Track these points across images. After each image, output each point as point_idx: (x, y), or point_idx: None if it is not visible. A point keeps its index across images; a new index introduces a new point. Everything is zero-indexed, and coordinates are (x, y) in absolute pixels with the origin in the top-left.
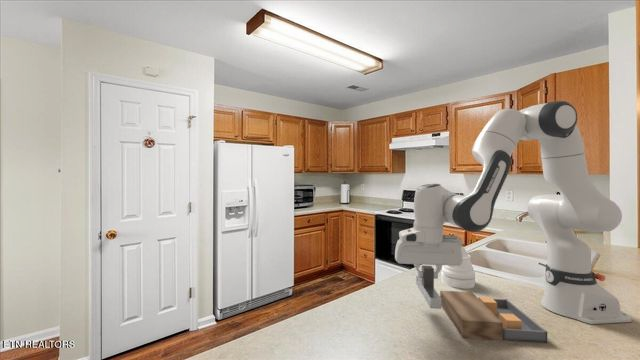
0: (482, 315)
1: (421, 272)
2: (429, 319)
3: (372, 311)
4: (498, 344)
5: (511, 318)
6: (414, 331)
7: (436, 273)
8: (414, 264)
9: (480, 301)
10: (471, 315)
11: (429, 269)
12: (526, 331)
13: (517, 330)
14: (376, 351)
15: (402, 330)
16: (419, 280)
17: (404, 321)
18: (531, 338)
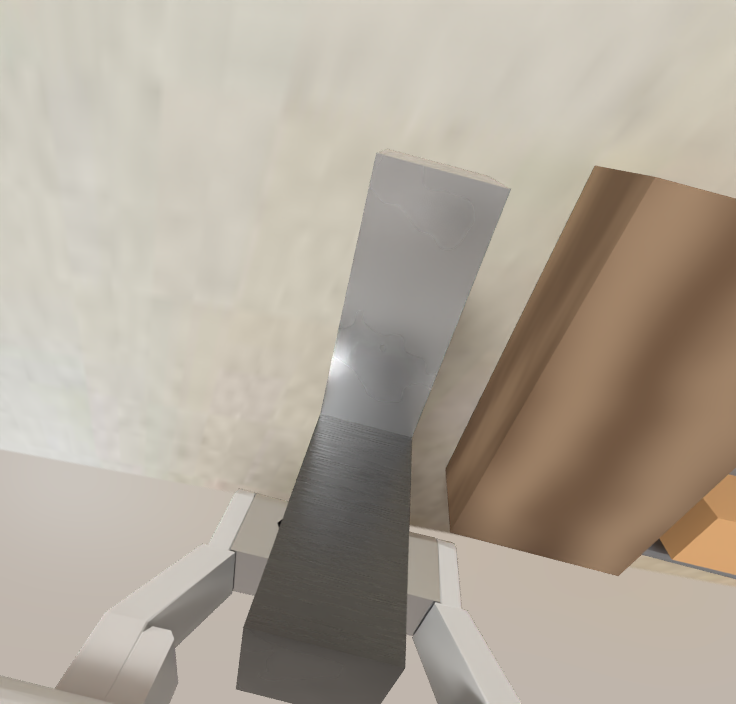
0: (587, 526)
1: (244, 585)
2: None
3: (87, 198)
4: None
5: (718, 555)
6: (274, 402)
7: (417, 637)
8: (91, 657)
9: None
10: (529, 516)
11: (310, 696)
12: (694, 566)
13: (661, 559)
14: (122, 462)
15: (225, 388)
16: (337, 338)
17: (252, 328)
18: None
